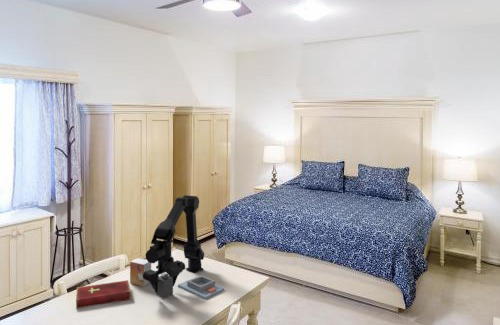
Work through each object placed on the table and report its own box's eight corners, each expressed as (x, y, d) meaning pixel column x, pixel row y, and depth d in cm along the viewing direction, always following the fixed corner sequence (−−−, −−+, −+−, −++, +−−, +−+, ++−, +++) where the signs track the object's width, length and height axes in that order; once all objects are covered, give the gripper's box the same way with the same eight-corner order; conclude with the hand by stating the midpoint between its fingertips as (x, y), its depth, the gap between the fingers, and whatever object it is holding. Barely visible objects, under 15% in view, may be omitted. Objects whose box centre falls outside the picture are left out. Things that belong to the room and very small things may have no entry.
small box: (129, 283, 173) (129, 261, 172) (137, 278, 179) (137, 257, 177) (144, 286, 170) (143, 264, 169) (151, 281, 176) (151, 260, 174)
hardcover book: (130, 300, 158) (130, 291, 158) (76, 309, 150) (75, 299, 150) (128, 288, 169) (128, 279, 169) (77, 296, 161) (77, 286, 161)
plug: (156, 295, 163) (156, 274, 162) (165, 291, 167) (165, 271, 165) (163, 298, 160) (163, 278, 158) (172, 294, 163) (172, 274, 162)
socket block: (178, 286, 171) (178, 279, 171) (197, 278, 180) (197, 271, 180) (205, 299, 160) (205, 291, 159) (224, 290, 169) (224, 282, 168)
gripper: (158, 266, 149) (158, 303, 150) (193, 253, 163) (193, 287, 165) (141, 258, 156) (142, 294, 158) (177, 247, 170) (177, 280, 172)
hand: (164, 289), depth 163 cm, fingers open, 9 cm apart
